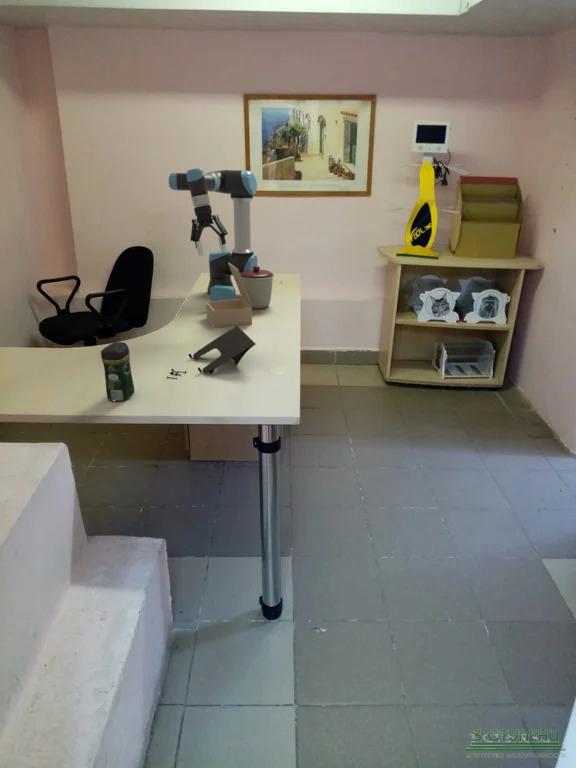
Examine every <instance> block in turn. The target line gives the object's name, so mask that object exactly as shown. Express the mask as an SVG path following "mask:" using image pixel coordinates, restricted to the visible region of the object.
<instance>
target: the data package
mask: <svg viewBox="0 0 576 768" xmlns="http://www.w3.org/2000/svg"><path fill="white" fill-rule="evenodd" d="M236 294H237V293H236V288H235V286H234V287H232V286H221V285H215V286H213V287H211V288H210V294H209V298H210V302H211V301H223V300H234V299H237V298H236Z"/></svg>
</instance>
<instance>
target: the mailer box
mask: <svg viewBox="0 0 576 768" xmlns="http://www.w3.org/2000/svg"><path fill="white" fill-rule="evenodd" d="M205 305H206V307H205V308H206V319H207V320H208V321H209V323H210V324H211V325H212V326H213V328H214V329H215V328H223V327H232V326H235V327H236V326H244V325H252V324H253V308H252V307H251V306H250V305H249V304H248V303H246V302H245V301H244V300H243V298H236V299H234V300H223V301H211V300H210V301H206V302H205Z"/></svg>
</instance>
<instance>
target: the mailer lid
mask: <svg viewBox="0 0 576 768" xmlns="http://www.w3.org/2000/svg"><path fill="white" fill-rule="evenodd" d="M228 264H229V267H230V269H231V272H232V274H233V275H232V276H233V279H234V282H235V284H236V286H237V289H238V292H239V294H240V296H241V299H244V300H245V301H246V302H247V303H248V304H250V305H251V306H253V305H252V303H251V300H250V298H249V295H248V293H247V290H246V288H245V285H244V283H243V280H242V278H241V275H240V272H239V270H238V269H237V268H236V267H234V266H233V265H232V264H231V263H228Z"/></svg>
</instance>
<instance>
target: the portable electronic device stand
mask: <svg viewBox="0 0 576 768" xmlns="http://www.w3.org/2000/svg"><path fill="white" fill-rule="evenodd" d="M255 345H257V344H256V342H255V341H254V340H253V339H251V338H250V337H249V335H248V334H246V333H245V332H244V331H243V330H242V328H240V327H239V325H236V326H235V327H233V328H231V329H229V330H227V331H226V332H224V333H223V334H221V335H219V336H218V337H216V338H215V339H214V340H211V342H208V343H207V344H206V345H204V346H203V347H201V348H199V350H197V351H196V352H194V353H193V355H192V354H191V353H189V354H188V357H189V358H190V360H192V359H194V360H196V359H198V358H200V357H202V356H203V355H205V354H207V353H209V352H211V351H213V350H217V351H219V353H220V355H219V356H218V357H217V358H216V359H214V360H213V361H211V362H209V364H207V365H206V366H204V367H203V368H202V369H201V367H197V370H198V371H199V373H200V374H201V373H204V374H208V373H209V374H213V373H214V372H215V370H216V369H217V368H218V367H220V366H223V365H224V364H225V363H227V362H229V361H231V360H233V363H234V365H235V364H236V365H237V366H238V365H239V363H240V362H241V360H242V359H243V357H244V356H245V355H246V354H247V352H248V351H250V349H252V347H254V346H255ZM236 365H235V366H236Z"/></svg>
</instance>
